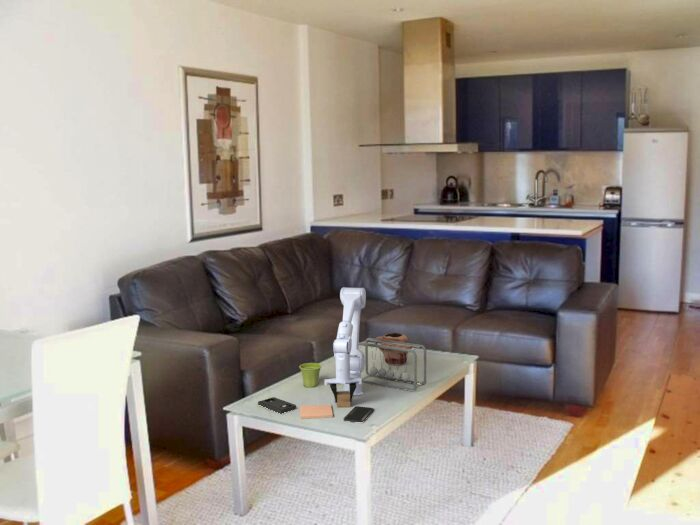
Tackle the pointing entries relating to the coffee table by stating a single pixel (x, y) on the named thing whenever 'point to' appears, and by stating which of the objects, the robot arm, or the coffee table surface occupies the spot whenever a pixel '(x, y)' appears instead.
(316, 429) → the coffee table surface
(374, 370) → the newton's cradle
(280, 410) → the vhs tape
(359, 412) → the phone
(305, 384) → the plant pot
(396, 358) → the decorative planter
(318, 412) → the terracotta tile
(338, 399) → the walnut cube
